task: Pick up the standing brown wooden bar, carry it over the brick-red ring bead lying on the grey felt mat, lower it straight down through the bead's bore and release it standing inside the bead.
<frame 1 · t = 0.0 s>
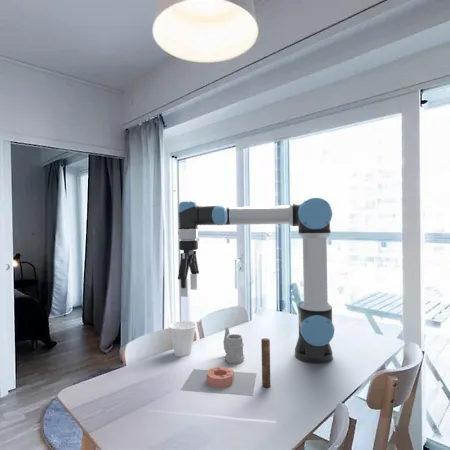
hand: (189, 292, 131), 28 cm above the table, fingers open, 13 cm apart
brown wooden bar: (266, 387, 110), on the table
bead: (220, 381, 113), resting on mat
mug: (232, 359, 133), on the table
mat: (220, 382, 113), on the table
cup: (182, 354, 140), on the table
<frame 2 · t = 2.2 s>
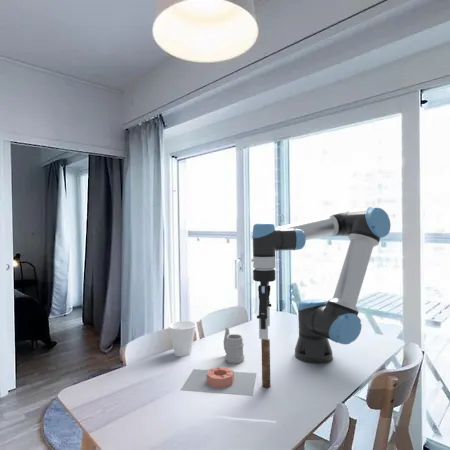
hand: (264, 331, 110), 19 cm above the table, fingers open, 13 cm apart
nothing on the table moved.
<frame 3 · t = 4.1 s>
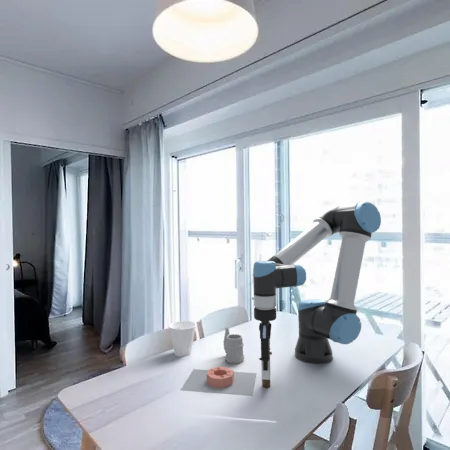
hand: (266, 376, 110), 4 cm above the table, fingers closed on brown wooden bar, 3 cm apart
brown wooden bar: (266, 387, 110), on the table, touching gripper
everything else where it was.
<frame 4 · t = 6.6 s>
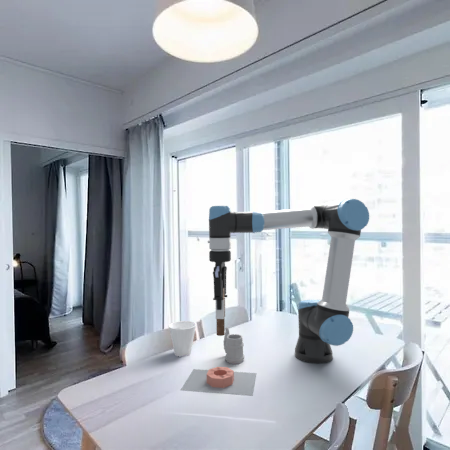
hand: (220, 317, 113), 23 cm above the table, fingers closed on brown wooden bar, 2 cm apart
brown wooden bar: (220, 334, 113), point 17 cm above the table, touching gripper
everything else where it was.
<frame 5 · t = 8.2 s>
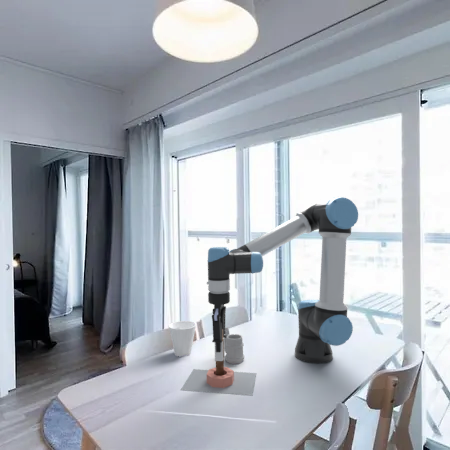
hand: (219, 358, 113), 8 cm above the table, fingers closed on brown wooden bar, 2 cm apart
brown wooden bar: (219, 375, 113), point 2 cm above the table, touching gripper
everything else where it was.
when the fingers open (5 cm above the table, at t = 9.0 s): brown wooden bar stays where it is, resting on mat.
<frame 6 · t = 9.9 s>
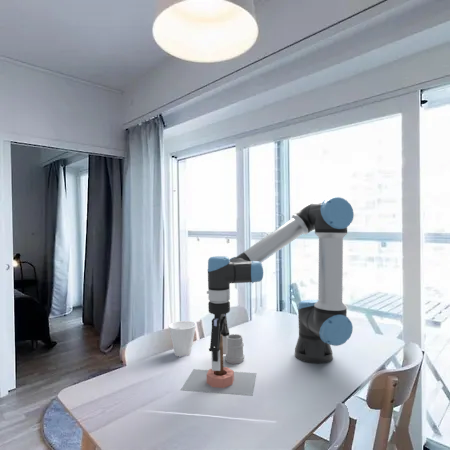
hand: (220, 361, 114), 7 cm above the table, fingers open, 13 cm apart
brown wooden bar: (219, 381, 113), resting on mat
everything else where it was.
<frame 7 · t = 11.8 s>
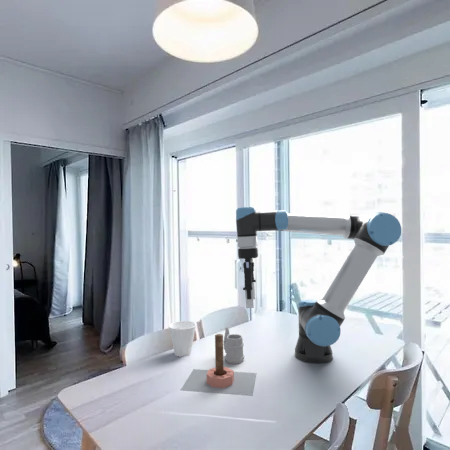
hand: (250, 303, 124), 25 cm above the table, fingers open, 13 cm apart
nothing on the table moved.
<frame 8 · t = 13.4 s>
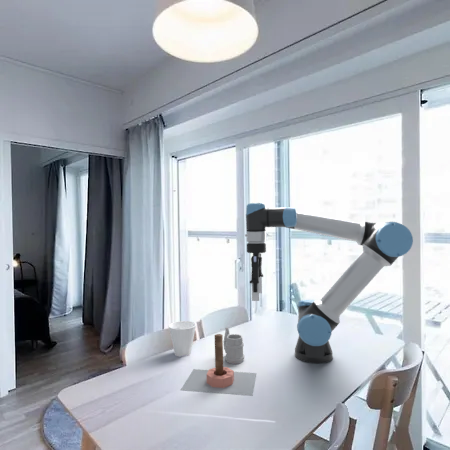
hand: (257, 296, 127), 27 cm above the table, fingers open, 13 cm apart
nothing on the table moved.
at the end: brown wooden bar 0.3 cm from the bead (horizontally); brown wooden bar resting on mat; brown wooden bar tilted 1° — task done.
